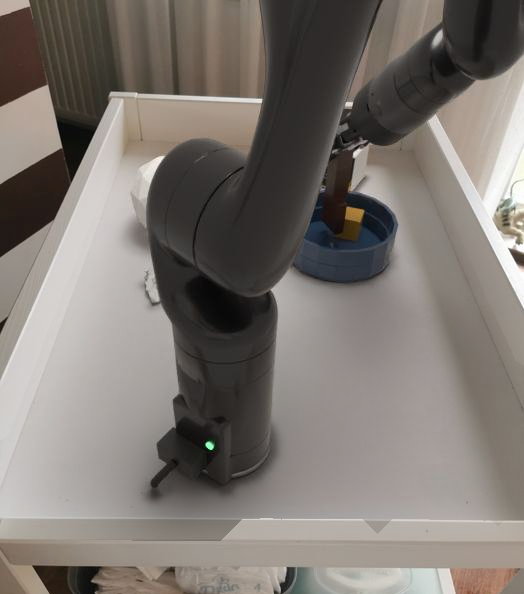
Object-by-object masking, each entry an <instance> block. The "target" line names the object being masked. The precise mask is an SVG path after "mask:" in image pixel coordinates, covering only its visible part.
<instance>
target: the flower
mask: <svg viewBox="0 0 524 594" xmlns="http://www.w3.org/2000/svg"><path fill="white" fill-rule="evenodd" d="M144 272H145V275H144V281H143V284H145V286H146V287H145V290H144V291H145V292H146V291H147V293H148V295H149V298H150V301H151V303H159V302H160V299H159V296H158V291H157V286H156V280H155V275H154V272H150V268H148V269H147V270H146V271H144ZM149 275H150V276H149Z"/></svg>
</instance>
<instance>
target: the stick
mask: <svg viewBox="0 0 524 594" xmlns="http://www.w3.org/2000/svg"><path fill="white" fill-rule="evenodd" d="M353 153H354V148H353V149H351V150H347V151H342V152H340V153H339V154H337V155H336V156H335V157H333V158H332V159H331V160H329V161H328V169H327V177H326V186H325V187H324V190H325V191H324V196H323V204H322V213H321V221H322V222H323V223H324V224H325V225H326V226H327V227H328V228H329V229H330V230H331V231H332V232H333V233H334V234H335V235H337V234H341V233H343V229H344V222H345V216H346V209H347V203H346V202H345V201H344V200H346V199H347V194H348V187H349V180H350V173H351V167H352V160H353Z"/></svg>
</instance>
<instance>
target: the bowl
mask: <svg viewBox="0 0 524 594" xmlns="http://www.w3.org/2000/svg"><path fill="white" fill-rule="evenodd" d="M324 191H325V189H322V190H321V189H320V192H319V196H318V199H317V202H316V205H315V209H314V212H313V215H312V218H311V221H310V224H309V227H308V230H307V233H306V235H305V238H304V240H303V243H302V245H301V248H300V250H299V252H298V254H297V256H296V258H295V259H294V261H293V263H292V265H294V266H295V267H296V268H297V269H299V270H300V271H301V272H303V273H305V274H307V275H309V276H311V277H314V278H316V279H320V280H323V281H327V282H336V283H352V282H353V283H354V282H358V281H359V282H360V281H363V280H367V279H369V278H372V277H374V276H376V275H377V274H378V273H380V272H382V271H383V270H384V269H385V268H386V267H387V266H388V265H389V263H390V262H391V260H392V255H393V251H394V247H395V242H396V239H397V233H398V229H399V222H398V219H397V216H396V214H395V213H394V212H393V211H392V209H391V208H390V207H389V206H388V205H387V204H385V203H384V202H382V201H381V200H379V199H377V198H375V197H373V196H370V195H368V194H364V193H363V192H358V191H354V190H353V191H348V194H347V199H346V200H344V201H345V202H346V203H347V207H352V208H357V209H362V210H365V211H364V216H363V222H362V227H361V231H360V234H359V237H358V240H357V241H352V240H347V239H342V238H337V237H335V234H334V233H333V232H332V231H331V230H330V229H329V228H328V227H327V226H326V225H325V224H324V223H323V222H322V221H321V213H322V204H323V196H324Z"/></svg>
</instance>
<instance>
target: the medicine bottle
mask: <svg viewBox="0 0 524 594" xmlns="http://www.w3.org/2000/svg"><path fill="white" fill-rule="evenodd" d="M351 109H352V108H345V107H344V110H343V114H342V117H341V119H343V118H344V117H346V116H347V114H348V113H350V112H351ZM369 150H370V146H366V147H365V148H364V149H358V150H356V151H355V152H354V153H353V160H352V167H351V173H350V180H349V187H348V191H354V190H355V188H356V187H357V186H359V184H360V182H361V181H362V180H363V179H364V177H365V175H366V169H367V163H368V157H369ZM327 169H328V164H327V168H326V171H325V175H324V178H323V182H322V185H321V188H325V186H326V177H327Z"/></svg>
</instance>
